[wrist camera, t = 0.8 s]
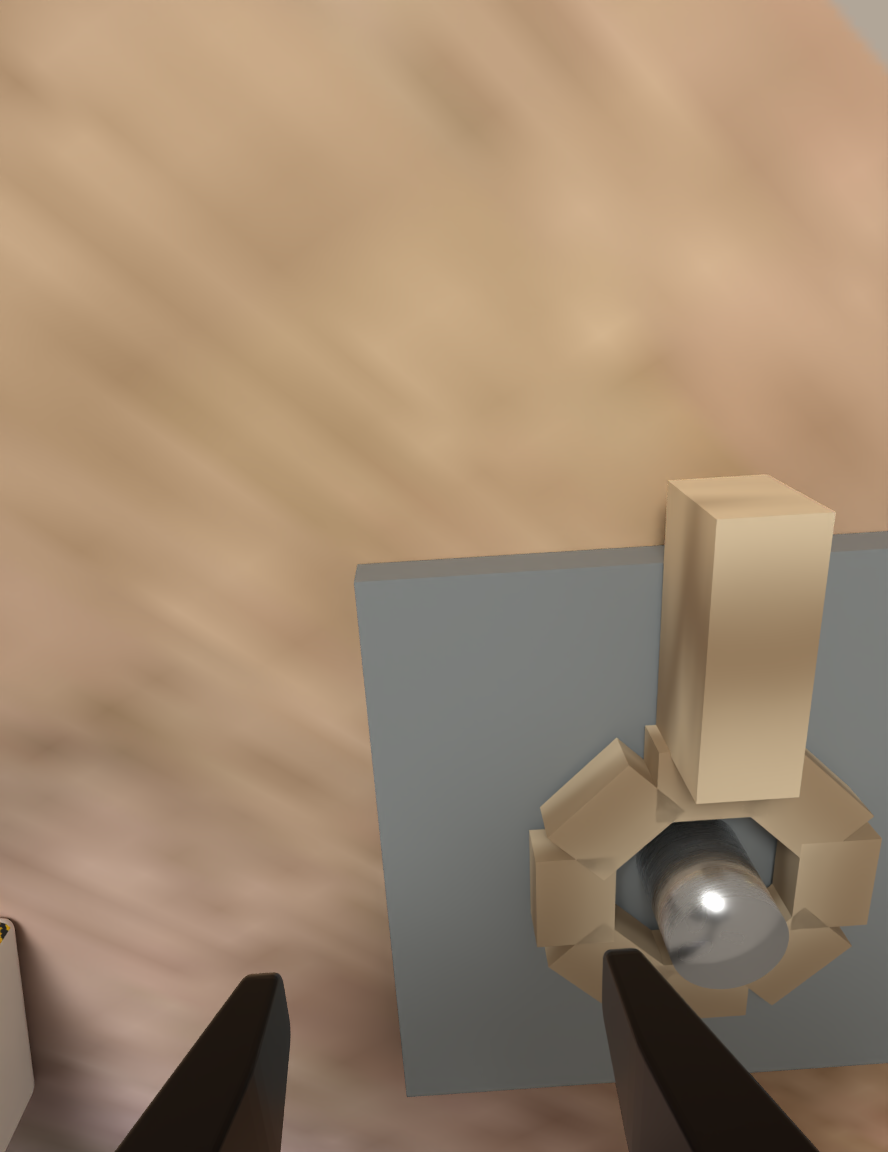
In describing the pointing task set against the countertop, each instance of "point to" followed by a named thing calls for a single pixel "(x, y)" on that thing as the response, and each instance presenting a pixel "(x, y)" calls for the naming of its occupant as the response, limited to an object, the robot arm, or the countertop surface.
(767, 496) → the ring with handle
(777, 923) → the grey shiny ball
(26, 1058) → the printed carton box
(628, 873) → the board
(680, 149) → the countertop surface
